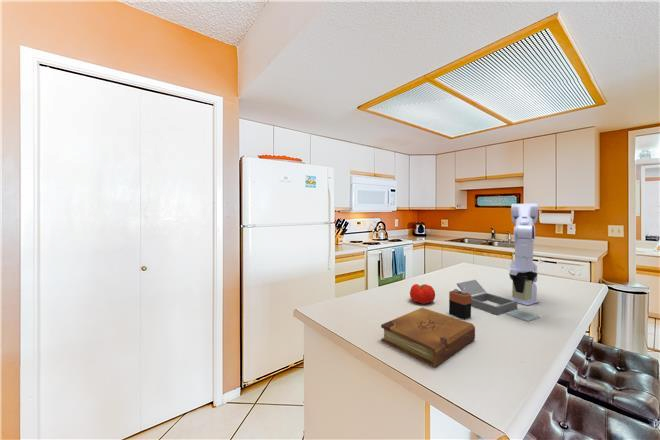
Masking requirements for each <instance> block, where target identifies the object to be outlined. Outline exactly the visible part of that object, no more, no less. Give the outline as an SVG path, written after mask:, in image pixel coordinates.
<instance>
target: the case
mask: <svg viewBox="0 0 660 440" xmlns="http://www.w3.org/2000/svg"><path fill="white" fill-rule="evenodd" d="M456 286H457V287H458V288H459V290H460V291H466V292H467V293H469V294H471V308H474V309H478V310H480V311H484V312H486V313H490V314H493V315H496V316H499V315H501V314H506V313H507V312H510V311H513V310H517V309H518V303H517V301H514V300H510V298H507V297H502V296H499V295H495V294H492V293H488V292H487V291H486V290H485V288H483V287H482V285H481V284H480V283H479V282H478V281H477V280H476V279H473V280H468V281H463V282H457V283H456ZM486 301H488V302H491V303H494V304H499V305H493V304H490V303H487V302H486Z"/></svg>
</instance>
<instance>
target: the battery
mask: <svg viewBox="0 0 660 440" xmlns="http://www.w3.org/2000/svg"><path fill="white" fill-rule="evenodd" d="M448 294H449V295H448V297H449V299H448V301H449V303H448V313H449V314H450V315H452V316H454V317H456V318H458V319H461V320H467V319H470V318H471V317H472V306H471V294H469V293H467V292H466V291H461V290H459V289H457V288H453V290H450V291H449V293H448Z"/></svg>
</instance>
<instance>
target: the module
mask: <svg viewBox="0 0 660 440" xmlns="http://www.w3.org/2000/svg"><path fill="white" fill-rule="evenodd" d="M511 290H512V295H511V296H512V297H511V298H513V297H514V298H518V299H521V300H529V299H532V280H527V279H526V281H525V284H524V290H523V293H519V292H516V290H515V286H514V283H513V282H512V289H511Z"/></svg>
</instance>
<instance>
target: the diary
mask: <svg viewBox="0 0 660 440" xmlns="http://www.w3.org/2000/svg"><path fill="white" fill-rule="evenodd" d="M380 327H381V328H382V330H383V337H381V339H380V340H381V342H383V343H385V344H388V346H389V345H390V346H391V347H394V348H395V349H398V350H400V351H401V352H404V353H405V354H407V355H409V356H411V357H413V358H415V359H417V360H419V361H421V362H423V363H425V364H427V365H429V366H431V365H432V366H431V367H433V366H434V367H433V368H436V367H438V365H440V364H442V363H444V361H446V360H447V359H448V358H450V357H452V356H453V355H454V354H456V353H458V352H459V351H460V350H461V349H463V348H464V347H466V346H468V344H470V343H472V342H474V340H476V326H475V325H474V324H473V323H471V322H468V321H466V320H463V319H460V318H457V317H452V316H450V315H447V314H443V313H441V312H438V311H434V310H432V309H428V308H424V307H420V308H417V309H415V310H413V311H411V312H409V313H405V314H403V315H401V316H398V317H396V318H394V319H392V320H389V321H387V322H384V323H382V324H381V325H380Z"/></svg>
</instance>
